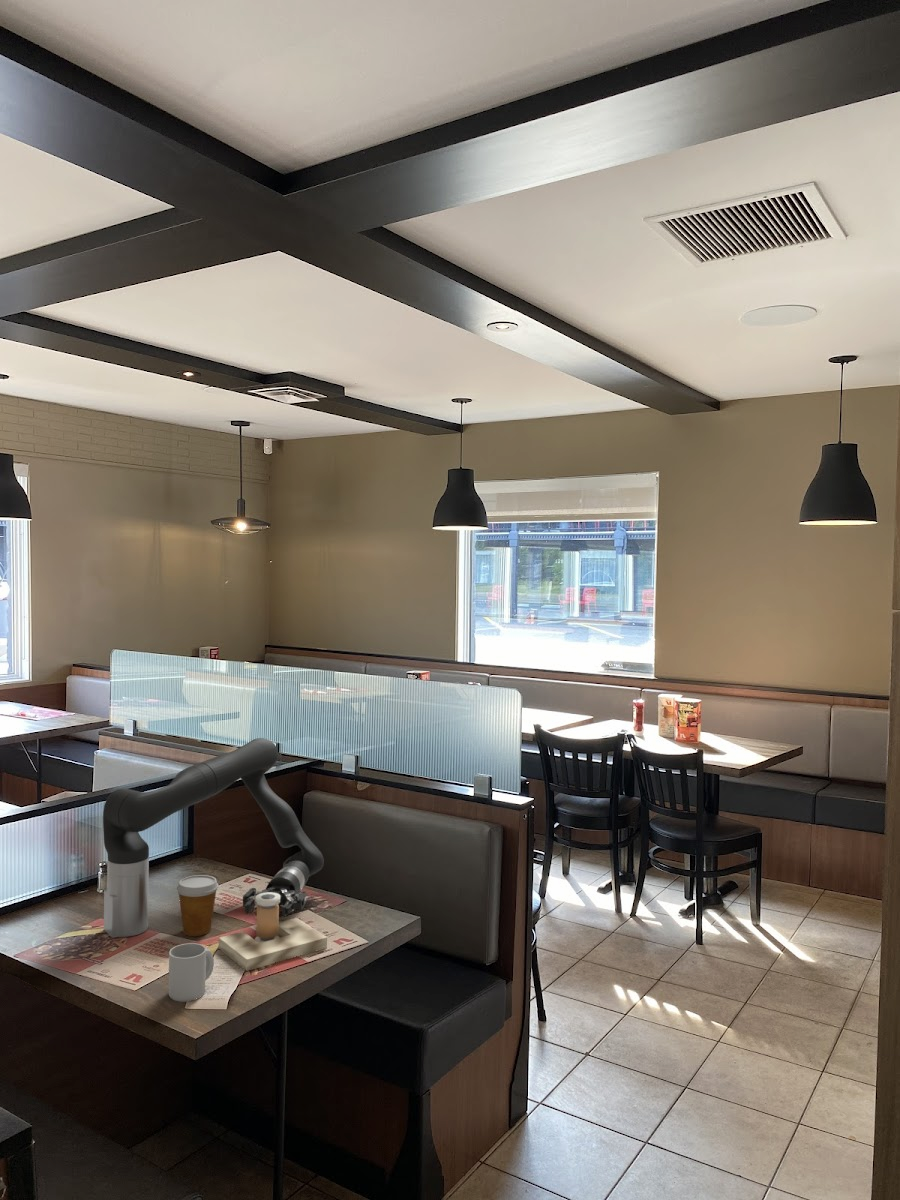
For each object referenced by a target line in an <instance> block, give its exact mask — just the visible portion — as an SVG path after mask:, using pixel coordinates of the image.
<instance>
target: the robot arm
mask: <svg viewBox="0 0 900 1200" xmlns="http://www.w3.org/2000/svg"><path fill="white" fill-rule="evenodd" d="M278 757H279V752H278V748H277V746H276V744H275V743H274V742H273V741H271V740H270V739H267V738H264V737H263V738H262V737H259V738H254V739H252V740H250V741H249V742H247V743H245V744H243V745H242V746H240V747H238V748H236V749H234V750H232V751H230V752H227V753H224V754H220V755H218V756H215V757H212V758H209V759H206V760H204V761H201V762H198V763H195V764H194V765H191V766H187V767H185V768H183V769H182V770H180V771H179V772H178V773H177V774H176V775H175V777H173V779H172V781H171V782H170V783H169V784H167V785H165V786H163V787H160V788H157V789H154V790H152V791H151V790H150V791H147V792H146V791H138V790H134V789H129V788H117V789H114V791H112V792H111V793H110V794H109V795H108V797H107V798H106V800H105V802H104V806H103V812H102V825H103V845H104V849H105V851H106V854H107V867H106V868H107V871H106V872H107V873H106V874H107V875H106V876H107V877H106V879H107V880H106V883H107V885H106V889H104V891H103V930H104V931H105V932H106V933H107V935H108V936H109V937H110V938H113V939H114V938H126V937H134V936H137V935H140V934H143V933H144V932H146V931H147V929H148V928H149V882H150V881H149V877H150V876H149V871H150V870H149V869H150V867H149V866H150V865H149V864H150V863H149V862H150V847H149V844H148V843H147V842H146V840H144V839H143V838H142V836H141V835H140V833H139V832H143V831H145V830H148V829H149V828H151V827H153V826H154V825H156V824H158V823H160V822H161V821H163V820H165V819H166V818H168V817H169V816H171V815H173V814H175V813H177V812H180V811H182V810H185V809H187V808H189V807H192V806H193V805H195V804H198V803H200V802H203V801H205V800H208V799H210V798H211V797H215V796H216V795H217V794H219V793H221V792H222V791H224V790H226V789H227V788H229V787H230V786H231V785H233V784H235V783H236V782H237V781H238V780H242V782H243V783H244V785H245V786H246V788H247V789H248V791H249V792H250V794H251V795H252V797H253V798H254V800H255V802H257V804H258V805H259V807H260V809H261V810H262V812H263V813H264V815H265V817H266V819H267V821H268V822H269V825H270V827H271V829H272V831H273V834H274V836H275V838H276V840H277V842H278V845H279V846H280V847H281V848H283V849H286V848H291V847H293V846H298V848H300V849H301V850H298V852H296V853H295V854H292V855H291V856H289V857H288V858H287V859H286V860H285V861H283V865H282V868H281V869H280V870H279V871H278V872H277V873H276V874H275V875H274V877H272V879H270V881H269V882H268V883H267V885H266V887H265V889H262V890H261V891H257V888H255V887H251V888H250V889H249V890H248V891H247V892H246V893H245V894H243V895H242V908H243V907H244V912H245V913H246V914H248V915H251V913H252V911H254V909H255V908H256V909H257V906H258V905H257V904H256V896H257V895H258V894H261V893H266V892H273V893H278V894H279V895H280V903H279V904H278V905H279V908H282V909H281V910H282V912H281V913H282V914H281V915H282V917H286V916H287V915H290V914H291V912H294V911H295V910H296V911H297V912H298V911H299V912H301V911H303V909H304V907H305V905H306V904H307V891H305V890H304V891H302V890H303V888H304V886H305V885H306V884H307V882H308V880H309V877H311V876H313V875H315V874H317V873H318V872H320V871H321V870H322V869H323V867H324V864H325V858H324V856H323V853H322V852H321V850H319V849H320V848H318V847H317V845H315V843H314V842H313V841H311V839H310V838H309V836H307V834H306V833H305V831H304V829H303V828H302V826H301V824H300V821H299V819H298V817H297V815H296V813H295V811H294V810H293V808H292V807H291V806H290V805H289V804H288V803H287V802H286V801H285V800H284V799H282V798H281V797H279V796H278V795H277V794H276V793H275V791H273V790H272V788H271V786H269V783H268V781H267V779H266V776H265V774H266V773H267V772H268V771H270V770H271V769H272V768H273V766H274V765H275V764H276V762H277V761H278Z"/></svg>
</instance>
